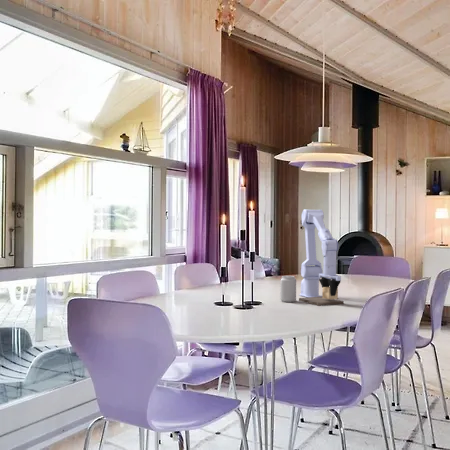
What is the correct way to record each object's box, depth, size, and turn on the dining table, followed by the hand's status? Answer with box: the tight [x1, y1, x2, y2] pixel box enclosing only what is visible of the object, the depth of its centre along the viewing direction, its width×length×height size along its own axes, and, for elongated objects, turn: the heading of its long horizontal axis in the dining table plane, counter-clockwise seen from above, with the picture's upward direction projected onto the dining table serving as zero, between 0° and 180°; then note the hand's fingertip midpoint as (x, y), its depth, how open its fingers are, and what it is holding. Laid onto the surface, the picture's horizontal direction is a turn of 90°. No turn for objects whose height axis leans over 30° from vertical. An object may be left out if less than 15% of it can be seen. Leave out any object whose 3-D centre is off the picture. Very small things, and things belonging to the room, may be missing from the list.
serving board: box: [298, 297, 345, 307], centre depth 234 cm, size 16×14×1 cm
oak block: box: [321, 286, 339, 300], centre depth 231 cm, size 5×5×5 cm
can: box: [279, 275, 297, 303], centre depth 236 cm, size 8×8×12 cm
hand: (329, 294), depth 231 cm, fingers closed on oak block, 5 cm apart
